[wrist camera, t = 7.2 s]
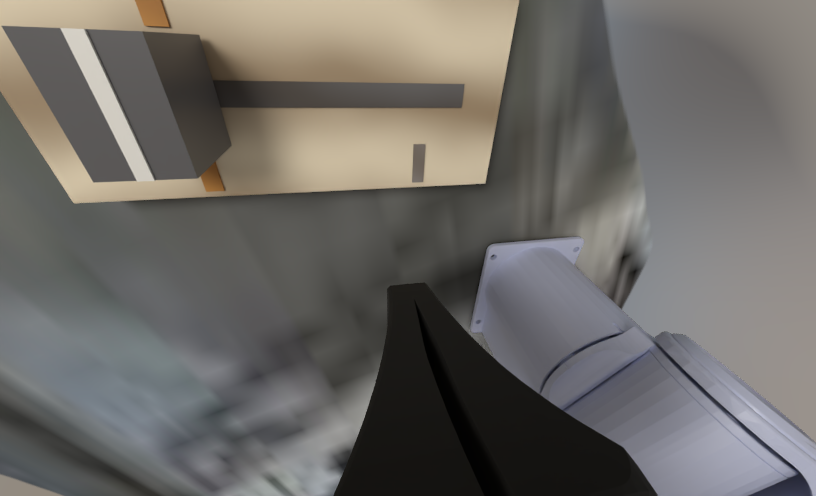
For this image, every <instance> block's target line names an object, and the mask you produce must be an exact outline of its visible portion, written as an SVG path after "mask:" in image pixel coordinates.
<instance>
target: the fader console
mask: <svg viewBox="0 0 816 496" xmlns="http://www.w3.org/2000/svg"><path fill="white" fill-rule="evenodd" d="M518 4H519V0H0V91H1V93H2V94H3V96H4V97H5V99H6V100H7V102H8V103H9V105H10V106H11V108H12V110H13V111H14V113H15V114H16V116H17V117H18V119H19V120H20V122H21V123H22V125H23V126H24V128H25V129H26V131H27V132H28V134H29V136H30V137H31V139H32V140H33V142H34V143H35V145H36V146H37V148H38V149H39V151H40V152H41V154H42V155H43V157H44V158H45V160H46V162H47V163H48V165H49V166H50V168H51V169H52V171H53V172H54V174H55V175H56V177H57V178H58V180H59V181H60V183H61V184H62V186H63V188H64V189H65V191H66V192H67V194H68V195H69V197H70V198H71V200H72V201H73V203H90V202H110V201H131V200H152V199H173V198H194V197H215V196H236V195H257V194H277V193H298V192H319V191H340V190H361V189H382V188H403V187H424V186H445V185H465V184H485V182H486V177H487V171H488V166H489V160H490V155H491V150H492V144H493V139H494V134H495V128H496V123H497V117H498V112H499V107H500V101H501V96H502V90H503V85H504V80H505V74H506V69H507V63H508V58H509V53H510V47H511V42H512V37H513V31H514V26H515V20H516V15H517V10H518ZM2 26H21V27H46V28H72V29H97V30H122V31H146V32H163V33H180V34H197V35H200V39H201V42H202V46H203V49H204V52H205V56H206V59H207V63H208V66H209V69H210V73H211V76H212V80H213V83H214V86H215V90H216V93H217V97H218V100H219V104H220V107H221V110H222V114H223V117H224V121H225V124H226V127H227V131H228V134H229V138H230V141H231V144H232V146H231V147H230V148H229V149H228V150H227V151H226V152H225V153H224V154H222V155H221V156H220V157H219V158H218V159H217V160H216V161H215V162H214V163H213V164H212V165H211V166H210V167H209V168H208V169H207V170H206V171H205V172H204V173H203V174H202V175H201V176H200V177H199V178H198V179H174V180H155V181H141V182H137V181H121V182H95V183H93V181H92V179H91V178H90V176H89V174H88V172H87V171H86V169H85V167H84V166H83V164H82V162H81V161H80V159H79V157H78V155H77V154H76V152H75V150H74V149H73V147H72V145H71V144H70V142H69V140H68V138H67V137H66V135H65V133H64V132H63V130H62V128H61V127H60V125H59V123H58V121H57V120H56V118H55V116H54V115H53V113H52V111H51V110H50V108H49V106H48V104H47V103H46V101H45V99H44V98H43V96H42V94H41V93H40V91H39V89H38V87H37V86H36V84H35V82H34V81H33V79H32V77H31V76H30V74H29V72H28V70H27V69H26V67H25V65H24V64H23V62H22V60H21V59H20V57H19V55H18V53H17V52H16V50H15V48H14V47H13V45H12V43H11V42H10V40H9V38H8V36H7V35H6V33H5V31H4V30H3V28H2Z"/></svg>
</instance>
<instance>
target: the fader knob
mask: <svg viewBox="0 0 816 496" xmlns="http://www.w3.org/2000/svg"><path fill="white" fill-rule="evenodd" d="M2 28H3V30H4V31H5V33H6V35H7V36H8V38H9V40H10V42H11V43H12V45H13V47H14V48H15V50H16V52H17V53H18V55H19V57H20V59H21V60H22V62H23V64H24V65H25V67H26V69H27V70H28V72H29V74H30V76H31V77H32V79H33V81H34V82H35V84H36V86H37V87H38V89H39V91H40V93H41V94H42V96H43V98H44V99H45V101H46V103H47V104H48V106H49V108H50V110H51V111H52V113H53V115H54V116H55V118H56V120H57V121H58V123H59V125H60V127H61V128H62V130H63V132H64V133H65V135H66V137H67V138H68V140H69V142H70V144H71V145H72V147H73V149H74V150H75V152H76V154H77V155H78V157H79V159H80V161H81V162H82V164H83V166H84V167H85V169H86V171H87V172H88V174H89V176H90V178H91V179H92V181H93V183H95V182H121V181H137V182H141V181H155V180H174V179H198V178H199V177H200V176H201V175H202V174H203V173H204V172H205V171H206V170H207V169H208V168H209V167H210V166H211V165H212V164H213V163H214V162H215V161H216V160H217V159H218V158H219V157H220V156H221V155H222V154H224V153H225V152H226V151H227V150H228V149H229V148H230V147H231V146H232V144H231V141H230V138H229V134H228V131H227V127H226V124H225V121H224V117H223V114H222V110H221V107H220V104H219V100H218V97H217V93H216V90H215V86H214V83H213V80H212V76H211V73H210V69H209V66H208V63H207V59H206V56H205V52H204V49H203V46H202V42H201V39H200V35H197V34H180V33H163V32H146V31H122V30H97V29H72V28H46V27H21V26H2Z"/></svg>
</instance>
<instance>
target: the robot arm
mask: <svg viewBox="0 0 816 496" xmlns="http://www.w3.org/2000/svg"><path fill="white" fill-rule="evenodd" d="M583 244H584V240H583V239H582V238H581V237H578V236H577V237H566V238H554V239H543V240H531V241H519V242H508V243H496V244H491V245H490V246H489V247H488V248H487V251H486V255H485V260H484V265H483V269H482V274H481V279H480V283H479V288H478V292H477V297H476V302H475V306H474V311H473V315H472V320H471V325H470V330H471V332H473V333H479V332H482V333H483V335H484V337H485V339H486V341H487V343H488V345H489V347H490V349H491V351H492V353H493V355H494V357H495V359H494V358H493V357H492V356H491V355H490V354H489V353H488V352H487V351H486V350H485V349H483V348H482V347H481V346H480V345H479V344H478V343H477V342H476V341H475V340H474V339H473V338H472V337H471V336H470V335H469V334H468V333H467V332H466V331H465V330H464V329H463V327H462V326H461V325H460V324H459V323H458V322H457V321H456V320H455V319H454V318H453V316H452V315H451V314H450V313H449V312H448V311H447V309H446V308H445V307H444V306H443V305H442V303H441V302H440V301H439V300H438V299H437V297H436V296H435V295H434V293H433V292H432V291H431V290H430V288H429V287H428V286H427V284H425V283H414V284H404V285H394V286H390V287H389V288H388V289H387V311H388V327H387V335H386V340H385V345H384V350H383V355H382V360H381V364H380V368H379V372H378V376H377V379H376V383H375V387H374V390H373V393H372V396H371V400H370V403H369V406H368V409H367V412H366V415H365V418H364V421H363V424H362V426H361V429H360V432H359V434H358V437H357V440H356V442H355V445H354V447H353V450H352V453H351V455H350V458H349V460H348V463H347V465H346V468H345V470H344V472H343V475H342V477H341V479H340V482H339V484H338V486H337V489H336V491H335V493H334V496H816V443H815V442H814V441H813V440H812V439H811V438H810V437H809V436H808V435H807V434H806V433H805V432H803V431H802V430H801V429H800V428H799V427H798V426H796V425H795V424H794V423H793V422H792V421H791V420H789V419H788V418H787V417H786V416H785V415H784V414H782V413H781V412H780V411H779V410H778V409H777V408H775V407H774V406H773V405H772V404H771V403H769V402H768V401H767V400H766V399H765V398H763V397H762V396H761V395H760V394H759V393H757V392H756V391H755V390H754V389H753V388H751V387H750V386H749V385H748V384H747V383H745V382H744V381H743V380H742V379H741V378H739V377H738V376H737V375H736V374H734V373H733V372H732V371H731V370H729V369H728V368H727V367H726V366H725V365H723V364H722V363H721V362H720V361H718V360H717V359H716V358H715V357H713V356H712V355H711V354H710V353H708V352H707V351H706V350H705V349H703V348H702V347H701V346H700V345H698V344H697V343H696V342H694V341H693V340H691V339H690V338H689V337H687V336H686V335H683V334H671V333H669V332H662V333H660V334H659V335H657V336H656V337H655V338H654V337H652V336H651V335H649V334H648V333H646V332H645V331H644V330H643V329H642V328H641V327H640V326H638V325H637V324H636V323H635V322H634V321H633V320H632V319H631V318H630V317H629V316H628V315H627V314H626V313H625V312H624V311H623V310H622V309H620V308H619V307H618V306H617V305H616V304H615V303H614V302H613V301H612V300H611V299H610V298H609V297H608V296H607V295H606V294H604V293H603V292H602V291H601V290H600V289H599V288H598V287H597V286H596V285H595V284H594V283H593V282H592V281H591V280H590V279H588V278H587V277H586V276H585V275H584V274H583V273H582V272H581V271H580V270H579V269H578V268H577V267H576V266H575V262H576V260H577V258H578V255H579V253H580V251H581V249H582V246H583ZM494 254H495V255H494ZM492 255H494V256H493V257H491V256H492Z"/></svg>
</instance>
